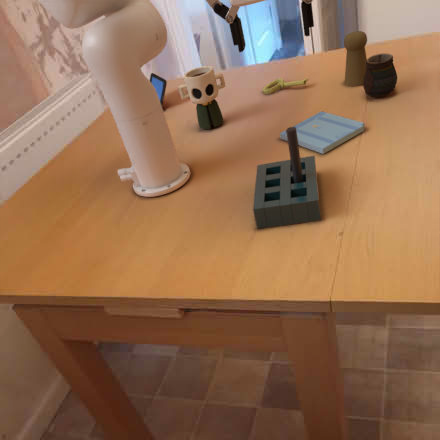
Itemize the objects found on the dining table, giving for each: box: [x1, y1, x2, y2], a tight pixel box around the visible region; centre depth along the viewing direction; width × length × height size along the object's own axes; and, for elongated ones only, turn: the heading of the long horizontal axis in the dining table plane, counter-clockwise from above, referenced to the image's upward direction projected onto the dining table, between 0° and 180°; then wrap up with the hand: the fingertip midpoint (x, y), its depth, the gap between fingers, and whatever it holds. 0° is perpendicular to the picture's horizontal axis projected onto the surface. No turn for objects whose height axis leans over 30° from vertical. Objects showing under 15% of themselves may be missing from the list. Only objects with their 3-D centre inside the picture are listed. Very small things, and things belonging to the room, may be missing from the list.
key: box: [262, 77, 309, 95], centre depth 124 cm, size 7×12×2 cm, turn 72°
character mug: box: [178, 65, 226, 130], centre depth 113 cm, size 11×7×13 cm, turn 97°
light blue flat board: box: [279, 110, 366, 155], centre depth 99 cm, size 14×12×1 cm
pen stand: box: [252, 155, 322, 230], centre depth 82 cm, size 11×15×4 cm
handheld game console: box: [149, 72, 168, 111], centre depth 135 cm, size 12×11×7 cm
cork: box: [343, 30, 368, 87], centre depth 112 cm, size 6×6×11 cm
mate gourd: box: [362, 52, 398, 99], centre depth 104 cm, size 7×8×10 cm
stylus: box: [285, 126, 303, 184], centre depth 79 cm, size 2×2×13 cm
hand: (274, 41), depth 69 cm, fingers open, 9 cm apart
